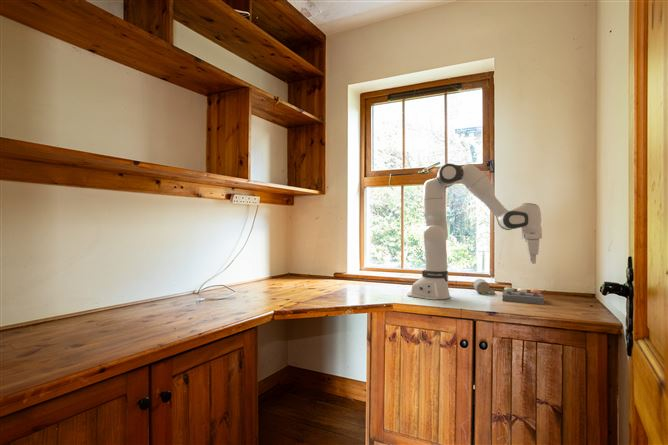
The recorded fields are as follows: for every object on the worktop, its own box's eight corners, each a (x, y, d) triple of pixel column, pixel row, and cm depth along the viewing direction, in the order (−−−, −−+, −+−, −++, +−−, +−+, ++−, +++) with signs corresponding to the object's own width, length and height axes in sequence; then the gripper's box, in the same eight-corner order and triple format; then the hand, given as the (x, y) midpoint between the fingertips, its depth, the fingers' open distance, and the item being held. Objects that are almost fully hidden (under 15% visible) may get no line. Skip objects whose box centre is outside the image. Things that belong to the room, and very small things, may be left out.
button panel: (502, 300, 173) (502, 295, 173) (502, 296, 184) (502, 291, 184) (543, 304, 165) (543, 298, 165) (541, 299, 176) (541, 293, 176)
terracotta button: (530, 298, 171) (530, 290, 171) (530, 297, 175) (530, 288, 175) (541, 299, 169) (541, 291, 169) (540, 298, 173) (540, 289, 173)
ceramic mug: (476, 294, 190) (476, 280, 190) (473, 291, 198) (473, 278, 198) (496, 295, 188) (497, 281, 189) (492, 292, 197) (492, 279, 197)
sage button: (504, 296, 176) (504, 288, 176) (504, 295, 180) (504, 287, 180) (513, 297, 174) (513, 289, 174) (513, 295, 178) (513, 287, 178)
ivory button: (517, 297, 174) (517, 289, 174) (517, 296, 177) (517, 287, 177) (527, 298, 172) (527, 290, 172) (526, 297, 175) (526, 288, 175)
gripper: (524, 234, 183) (525, 260, 182) (525, 235, 164) (526, 264, 164) (537, 234, 180) (538, 260, 179) (540, 235, 162) (542, 264, 161)
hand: (533, 262), depth 172 cm, fingers open, 8 cm apart
